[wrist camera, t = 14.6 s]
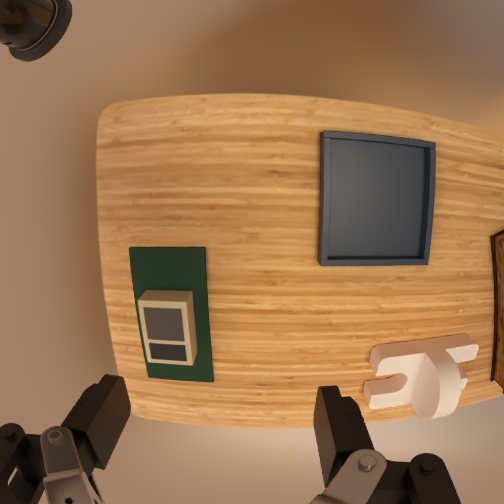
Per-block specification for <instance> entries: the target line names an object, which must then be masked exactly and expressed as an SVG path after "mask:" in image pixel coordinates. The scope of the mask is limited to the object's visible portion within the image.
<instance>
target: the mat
mask: <svg viewBox="0 0 504 504" xmlns="http://www.w3.org/2000/svg"><path fill="white" fill-rule="evenodd" d="M129 255H130V265H131V274H132V282H133V290H134V297H135V304H136V311H137V317H138V324H139V330H140V336H141V341H142V347H143V352H144V357H145V363H146V367H147V372H148V377H149V378H159V379H170V380H182V381H197V382H214V377H213V365H212V352H211V339H210V325H209V309H208V292H207V273H206V252H205V247H130V248H129ZM146 290H171V291H192V294H193V307H194V319H195V330H196V341H197V354H196V357H195V360H194V363H193V365H179V364H165V363H153V362H148V360H147V355H146V350H145V344H144V339H143V333H142V327H141V320H140V314H139V307H138V299H139V298H140V297H141V296H142V295H143V293H144V292H145V291H146Z"/></svg>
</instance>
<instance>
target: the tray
mask: <svg viewBox="0 0 504 504" xmlns="http://www.w3.org/2000/svg"><path fill="white" fill-rule="evenodd" d="M435 148H436V145H435V142H429V141H422V140H415V139H408V138H401V137H392V136H384V135H374V134H364V133H352V132H339V131H322V132H321V133H320V217H319V245H318V262H319V264H320V266H396V265H428V260H429V252H430V244H431V235H432V224H433V211H434V195H435V165H436V149H435Z"/></svg>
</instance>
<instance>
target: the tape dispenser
mask: <svg viewBox="0 0 504 504" xmlns="http://www.w3.org/2000/svg"><path fill="white" fill-rule="evenodd" d="M477 351H478V345H477V344H476V343H475V342H474V341H473V340H472V339H471V338H470V337H469V336H468V335H466V334H458V335H452V336H445V337H438V338H431V339H424V340H416V341H407V342H399V343H389V344H379V345H376V346H375V347H374V348H373V349H372V350H371V355H370V360H369V363H370V365H371V367H372V369H373V371H374V373H375V375H376V376H381V375H389V374H395V375H394V376H392V377H390V378H387V379H380V380H372V381H365V384H364V389H363V393H364V395H365V397H366V400H367V402H368V405H369V407H370V408H371V409H380V408H387V407H393V406H399V405H405V404H410V405H411V406H412V408H413V410H414V412H415V413H416V415H417V416H418V417H419V418H420V419H422V420H425V421H427V420H431V419H435V418H439V417H443V416H447V415H449V414H451V413H452V412H453V411H454V410H455V408H456V406H457V405H458V402H459V399H460V394H461V391H462V390H463V389H464V387H465V385H466V383H467V380H468V376H467V375H466V374H465V373H464V372H463V371H462V369H461V368H460V367H459V366H457V363H460V362H465V361H469V360H474V359H475V357H476V354H477Z"/></svg>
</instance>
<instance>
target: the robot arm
mask: <svg viewBox="0 0 504 504" xmlns="http://www.w3.org/2000/svg"><path fill="white" fill-rule="evenodd" d="M58 15H59V5H58V3H57V1H56V0H0V43H2V44H5V45H8V46H10V48H11V47H13V48H15V49H16V50H19V51H28V50H30V49H32V48H34V47H36V46H37V45H38V44H40V43H41V42H42V41H43V40H44V39H45V38H46V37H47V35H48V34H49V33H50V31H51V30H52V28H53V27H54V25H55V23H56V21H57V18H58ZM130 412H131V404H130V400H129V396H128V393H127V389H126V385H125V381H124V378H123V377H121V376H115V375H109V374H105V375H104V376H103V377H102V379H101V380H100V382H99V383H98V384H95V383H94V384H93V385H91V386H90V387H88V388H87V389H86V390H85V391H84V392H83V394H82V395H81V397H80V399H78V401H77V403H76V405H74V407H73V408H72V410H71V411H70V413H69V414H68V415H67V417H66V419H65V420H64V421H63V423H62V424H61V426H53V427H50V428H48V429H46V430H45V431H44V432H43V433H42V435H35V434H25V432H24V430H23V428H22V427H21V426H20V425H18V424H15V423H8V424H5V425H3V426H1V427H0V504H38V502H39V500H40V498H41V496H42V494H43V492H44V489H45V491H46V495H47V500H48V503H49V504H105V502H104V500H103V498H102V495H101V493H100V490H99V488H98V485H97V483H96V480H95V478H94V475H93V473H92V472H93V470H94V468H99V469H102V470H104V469H105V468H106V465H107V463H108V461H109V459H110V456H111V455H112V452H113V450H114V448H115V446H116V444H117V442H118V439H119V437H120V435H121V433H122V431H123V429H124V427H125V425H126V422H127V420H128V418H129V416H130ZM314 430H315V435H316V441H317V446H318V452H319V457H320V463H321V468H322V474H323V479H324V485H325V488H326V489H325V490H324V492H323V493H322V494H321V495H320V494H319V495H317V496H316V497H315V498H314V499H313V500H312V501H311V503H310V504H461V502H460V499H459V497H458V494H457V492H456V489H455V487H454V485H453V482H452V480H451V477H450V475H449V473H448V470H447V468H446V466H445V463H444V462H443V460H442V459H441V458H440V457H438V456H437V455H434V454H430V453H423V454H419V455H417V456H415V457H414V458H413V459H412V460H411V462H395V461H390V460H387V459H385V457H384V456H383V455H382V454H381V453H379V452H378V451H375V449H374V447H373V444H372V441H371V439H370V436H369V433H368V430H367V427H366V425H365V422H364V419H363V417H362V415H361V411H360V408H359V406H358V404H357V403H356V402H355V401H354V400H353V399H352V398H351V397H341V394H340V391H339V388H338V386H337V385H335V386H319V387H318V391H317V397H316V404H315V410H314ZM15 467H16V469H17V472H16V473H15V475H14V477H13V478H12V480H11V482H10V484H9V486H8V480H9V478H10V476H11V474H12V473H13V471H14V469H15Z"/></svg>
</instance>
